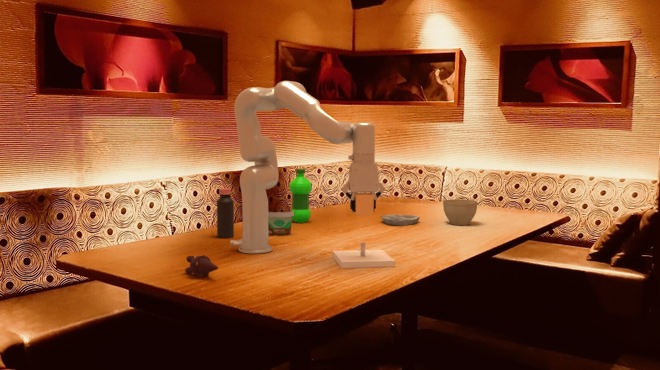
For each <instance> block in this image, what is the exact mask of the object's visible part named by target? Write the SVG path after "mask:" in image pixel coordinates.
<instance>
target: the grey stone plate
mask: <svg viewBox="0 0 660 370" xmlns="http://www.w3.org/2000/svg"><path fill="white" fill-rule="evenodd" d="M380 218H381V219H382V221H383V222H384V223H385V224H386V225H388V226H393V227H394V226H395V227H396V226H397V227H398V226H399V227H402V226H410V225H411V226H413V225H415V224H417V223H418V222H420V221H419V220H420V218H421V217H420V216H418V215H413V214H386V215H380Z"/></svg>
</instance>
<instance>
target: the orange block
mask: <svg viewBox="0 0 660 370" xmlns="http://www.w3.org/2000/svg"><path fill="white" fill-rule="evenodd" d="M374 212H375V209H374V194H372V193H370V192H357V193H356V194H355V212H353V211H352V213H353V214H354V215H356V216H374Z"/></svg>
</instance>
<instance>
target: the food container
mask: <svg viewBox="0 0 660 370" xmlns="http://www.w3.org/2000/svg"><path fill="white" fill-rule="evenodd" d="M292 216H294V213H293V210H292V211H291V210H290V211H285V212H284V211H276V212H273V211H268V235H269V234H270V236H273V235H277V236H276V237H282V236H283V237H284V236H285V235H286V236H290V235H291V234H292V233H291V230H292V223H293V219H292Z"/></svg>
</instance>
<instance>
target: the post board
mask: <svg viewBox="0 0 660 370" xmlns="http://www.w3.org/2000/svg"><path fill="white" fill-rule="evenodd" d="M332 258H333V259H334V260H335V261H336V262H337V264H338V266H340V268H341V269H355V268H360V269H361V268H386V267H387V268H390V267H391V268H392V267H396V266H395V262H396V261H395V260H394V258H392V257H391V256H390V255H389V254H387V253H386V252H385V251H384V250H383V249H366V242H363V241H362V242H360V249H358V250H357V249H356V250H355V249H354V250H353V249H349V250H332Z"/></svg>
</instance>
